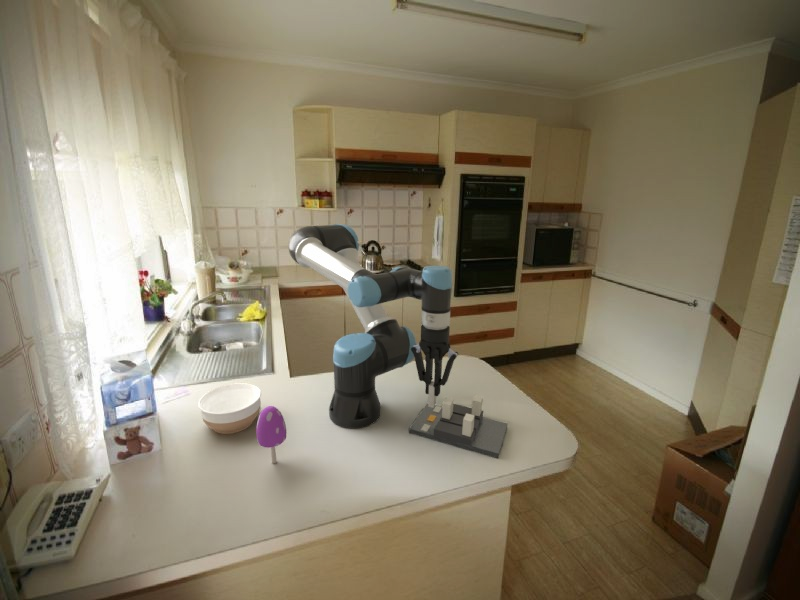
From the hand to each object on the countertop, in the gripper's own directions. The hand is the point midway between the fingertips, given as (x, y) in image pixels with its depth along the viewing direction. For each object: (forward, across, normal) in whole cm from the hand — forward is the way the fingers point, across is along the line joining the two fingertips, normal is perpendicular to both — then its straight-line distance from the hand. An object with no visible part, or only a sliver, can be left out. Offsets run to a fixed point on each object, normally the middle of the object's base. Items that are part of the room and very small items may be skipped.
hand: (432, 404), depth 108 cm
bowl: (+6, -51, -24) cm, 56 cm away
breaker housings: (+5, +8, 0) cm, 9 cm away
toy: (+6, -29, -31) cm, 43 cm away
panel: (+6, +8, 0) cm, 10 cm away
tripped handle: (+2, +4, 0) cm, 5 cm away
